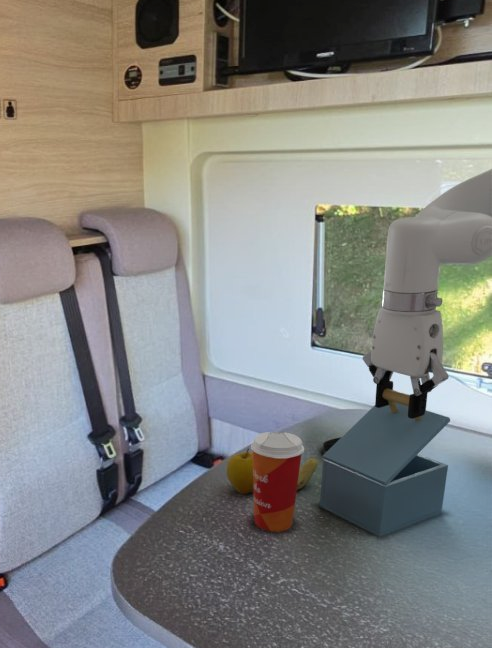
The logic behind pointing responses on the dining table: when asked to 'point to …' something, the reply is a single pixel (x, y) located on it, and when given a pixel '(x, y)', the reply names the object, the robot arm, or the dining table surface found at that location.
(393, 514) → the chest
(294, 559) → the dining table surface
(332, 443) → the watch
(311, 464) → the banana
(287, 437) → the coffee cup
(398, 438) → the lid
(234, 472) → the apple
